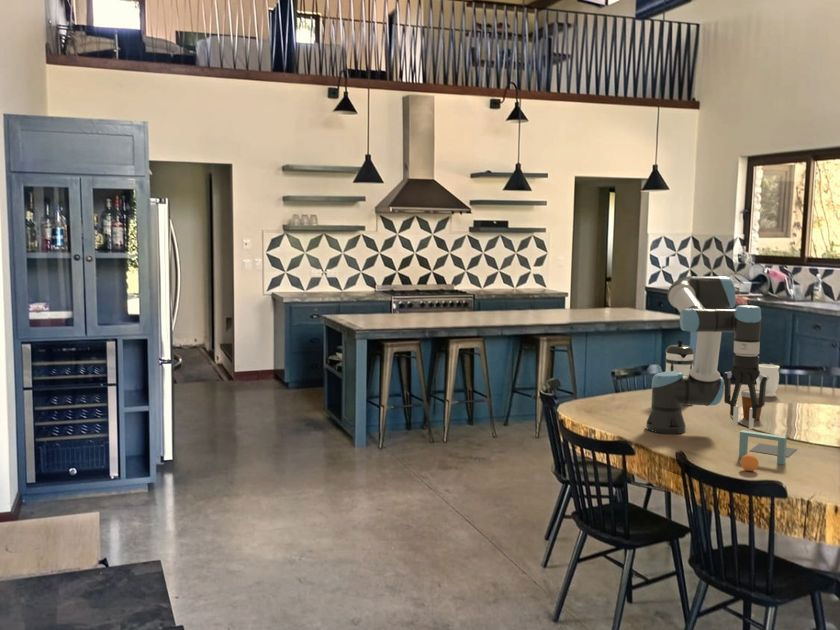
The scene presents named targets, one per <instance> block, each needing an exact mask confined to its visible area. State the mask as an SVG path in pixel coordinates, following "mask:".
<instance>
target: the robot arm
mask: <svg viewBox="0 0 840 630" xmlns="http://www.w3.org/2000/svg"><path fill="white" fill-rule="evenodd" d="M736 299H737V298H736V289H735V285H734V282H733V279H731V277H729V276H721V275H717V276H713V275H712V276H704V275H703V276H700V275H699V276H696V275H695V276H694V275H693V276H692V275H690V276H684V277H681V278H678V279H677V280H675V281H674V282H673V283H672V284H670V286H669V288H668V290H667V301H668V302H669V303H670V305H671V306H672V307H673V308H676V309H677V311H678V312H679V325H680V329H681V330H682V331H684V332H691V333H695V332H697V337H696V346H695V353H694V354H695V355H694V363H693V368H692V369H691V370H690V372H689V376H683V373H682V372H679V371H667V372H666V371H661V372H658V373H656V374H654V375H653V377H652V381H651V405H650V406H651V409H650V412H649V415H648V418H647V420H646V425H645V428H646V427H647V428H648V429H650V430H653V431H656V432H655V433H657V432H661V433H660V434H665V433H670V435H673V434H674V435H675V434H676V433H678V434H683V433H685V432H686V429H687V428H686V422H685V419H684V415H683V413H682V412H683V411H682V407H683V405H686V406H688V405H689V406H690V405H691V406H708V407H709V406H717V405H718V404H720V403H721V402H722V399H723V397H724V400H723V401H724V403H725V404H728V405H729V406H730V409H729V410H730V411H729V412H730V416H732V427H734V428H735V427H737V426H738V425H739V405H737V401H738V397H739V395H740V391H741V388H742V385H743V384H745V385H747V388H748V389H749V392H750V397H751V403H752V407H751V408H750V412H749V420H748V430H752V429H753V428H754V426H755V425H754V424H755V422H754V421H755V420H754V419H756V418H757V415H758V408H761V407H762V408H763V407H764V406H765V405H766V403H765V401H766V396H765V391H766V383H767V381H768V378H769V377H768V376H764V375H762V374H760V371H759V364H760V356H759V355H760V351H761V349H760V346H761V345H760V343H761V326H762V325H761V323H762V318H763V317H762V310H761V307H760V306H757V305H749V304H748V305H745V304H744V305H737V306H736V307H735V305H736ZM734 307H735V308H734ZM722 333H734V336H733V353H734V355H733V357H732V360H733V362H732V368H731V370H730V371H726V372H723V373H722V376H721V373H720V371H718V365H719V357H720V349H721V340H722ZM732 376H733V378H734V379H735V383H734V388H733V392H732V390H731V388H732V387H731V384H732V383H731V379H732ZM758 377H759V381H760V382H761V383H760V391H759V403H758V401H757V396H756V390H757V389H756V383H755V382H756V379H757V378H758ZM731 392H732V396H731ZM762 408H761V409H762ZM648 429H647V430H648ZM650 430H649V431H650ZM653 431H652V432H653ZM676 435H677V434H676Z"/></svg>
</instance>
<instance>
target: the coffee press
mask: <svg viewBox="0 0 840 630" xmlns="http://www.w3.org/2000/svg"><path fill="white" fill-rule="evenodd" d="M665 354H666V355H665V360H664V361H665V372H667V371H679V372H682V373H683V376H689V372H690V370H691V369H692V368H694V362H695V358H694V354H695V351H694V349H693V347H691V346H690V345H685V344H683V340H682V339H679V340H677V344H671V345H668V347H666V349H665Z"/></svg>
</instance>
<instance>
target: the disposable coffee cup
mask: <svg viewBox="0 0 840 630" xmlns="http://www.w3.org/2000/svg"><path fill="white" fill-rule="evenodd" d="M755 390H756V396H757V401H758V403H759V391H760V390H758V389H755ZM740 395H741V400H742V401H741V403H742V414H743V419H744V418H747V419H749V412H750V408H751V407H752V403H751V397H750V392H749V388H748V389H747V388H745V389H742V390H741V392H740ZM762 408H763V407H761V408H758V415H757V418H756V419H755V420H754V421H758V420H757V419H759V420H760V418H761V414H762ZM747 419H746V420H747Z"/></svg>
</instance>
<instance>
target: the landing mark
mask: <svg viewBox="0 0 840 630" xmlns="http://www.w3.org/2000/svg"><path fill="white" fill-rule="evenodd" d="M797 450H798V449H797V448H792V447H788V446H786V458H790V457H791V455H793V454H794V453H795V452H796V451H797ZM749 452H753V453H760V454H765V455H771V456H777V454H778V445H775V444H774V445H772V444H766V443H759V442H758V443H757V444H756V445H754V447H752V448H751V449H749Z"/></svg>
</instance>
